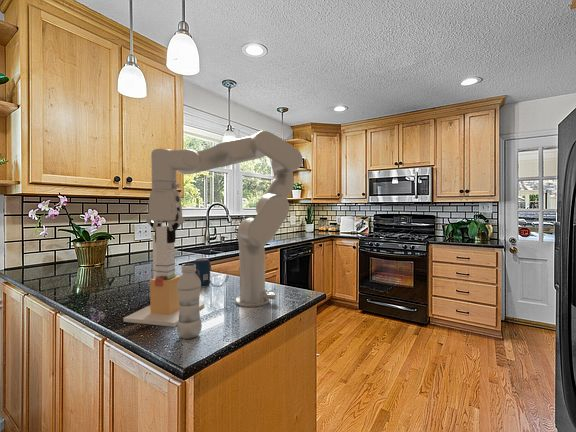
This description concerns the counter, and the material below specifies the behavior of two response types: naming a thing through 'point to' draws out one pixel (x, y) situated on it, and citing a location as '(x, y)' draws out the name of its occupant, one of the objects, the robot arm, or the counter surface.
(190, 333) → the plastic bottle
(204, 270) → the soda can
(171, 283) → the stand base
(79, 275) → the counter surface
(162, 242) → the steel column
